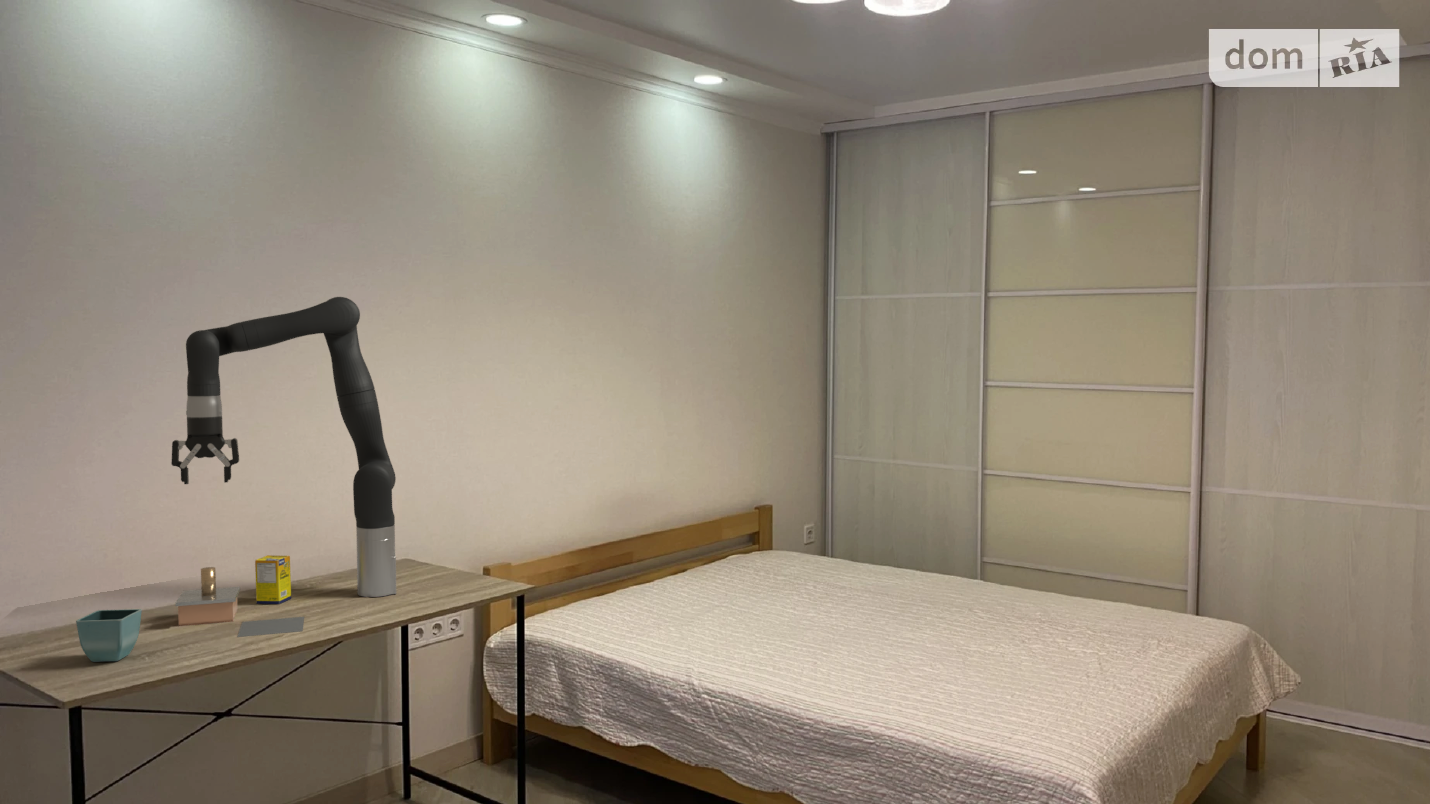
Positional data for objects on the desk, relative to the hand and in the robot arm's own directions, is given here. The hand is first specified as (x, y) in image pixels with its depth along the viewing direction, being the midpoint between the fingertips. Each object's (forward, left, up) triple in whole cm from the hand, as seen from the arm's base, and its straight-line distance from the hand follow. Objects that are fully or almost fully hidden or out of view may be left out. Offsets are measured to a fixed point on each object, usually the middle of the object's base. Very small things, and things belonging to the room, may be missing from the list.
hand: (206, 483), depth 244 cm
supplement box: (-14, -2, -30) cm, 33 cm away
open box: (-1, +11, -30) cm, 32 cm away
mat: (-15, +24, -30) cm, 41 cm away
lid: (-1, +11, -25) cm, 27 cm away
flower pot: (+14, +37, -30) cm, 50 cm away
